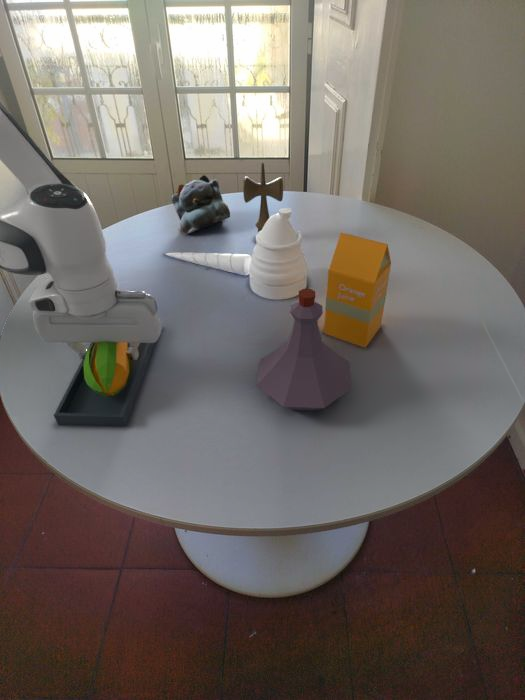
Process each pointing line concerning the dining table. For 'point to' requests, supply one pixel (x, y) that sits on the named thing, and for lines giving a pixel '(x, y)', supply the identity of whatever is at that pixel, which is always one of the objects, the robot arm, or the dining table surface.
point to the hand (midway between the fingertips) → (109, 357)
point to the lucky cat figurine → (199, 204)
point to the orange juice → (356, 289)
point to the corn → (107, 368)
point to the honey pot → (278, 259)
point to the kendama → (262, 194)
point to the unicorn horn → (218, 261)
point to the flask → (304, 363)
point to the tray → (96, 409)
